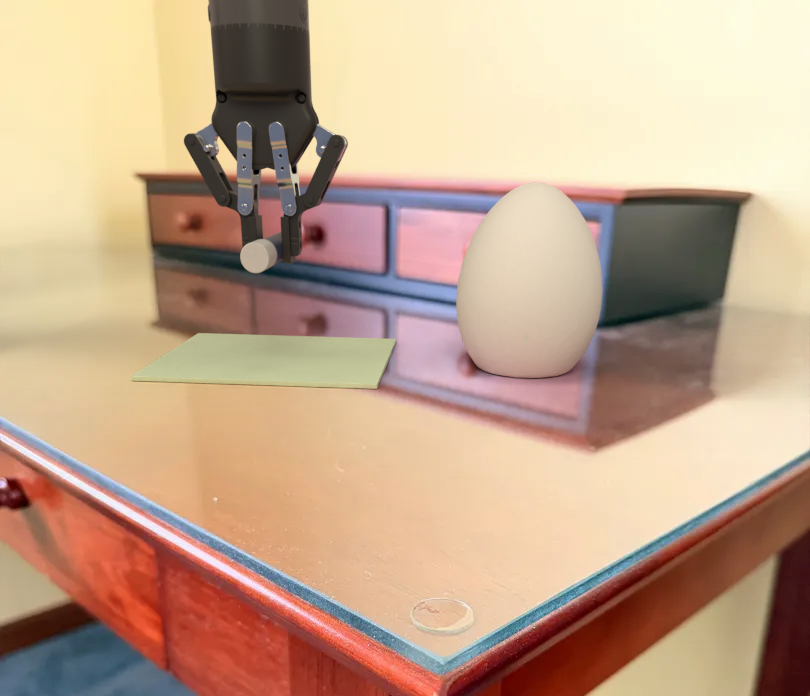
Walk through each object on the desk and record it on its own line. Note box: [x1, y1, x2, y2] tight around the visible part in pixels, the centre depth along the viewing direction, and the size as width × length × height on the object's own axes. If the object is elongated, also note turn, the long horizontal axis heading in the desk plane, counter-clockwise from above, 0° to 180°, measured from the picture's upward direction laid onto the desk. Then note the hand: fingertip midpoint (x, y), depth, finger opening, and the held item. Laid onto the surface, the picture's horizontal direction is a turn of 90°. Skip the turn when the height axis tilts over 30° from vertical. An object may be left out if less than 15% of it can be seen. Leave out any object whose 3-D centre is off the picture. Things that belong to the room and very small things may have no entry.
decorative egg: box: [455, 182, 603, 379], centre depth 69 cm, size 12×12×15 cm
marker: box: [239, 231, 283, 274], centre depth 70 cm, size 12×2×2 cm, turn 176°
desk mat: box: [130, 332, 397, 390], centre depth 74 cm, size 20×18×1 cm
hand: (273, 261), depth 70 cm, fingers closed on marker, 2 cm apart
